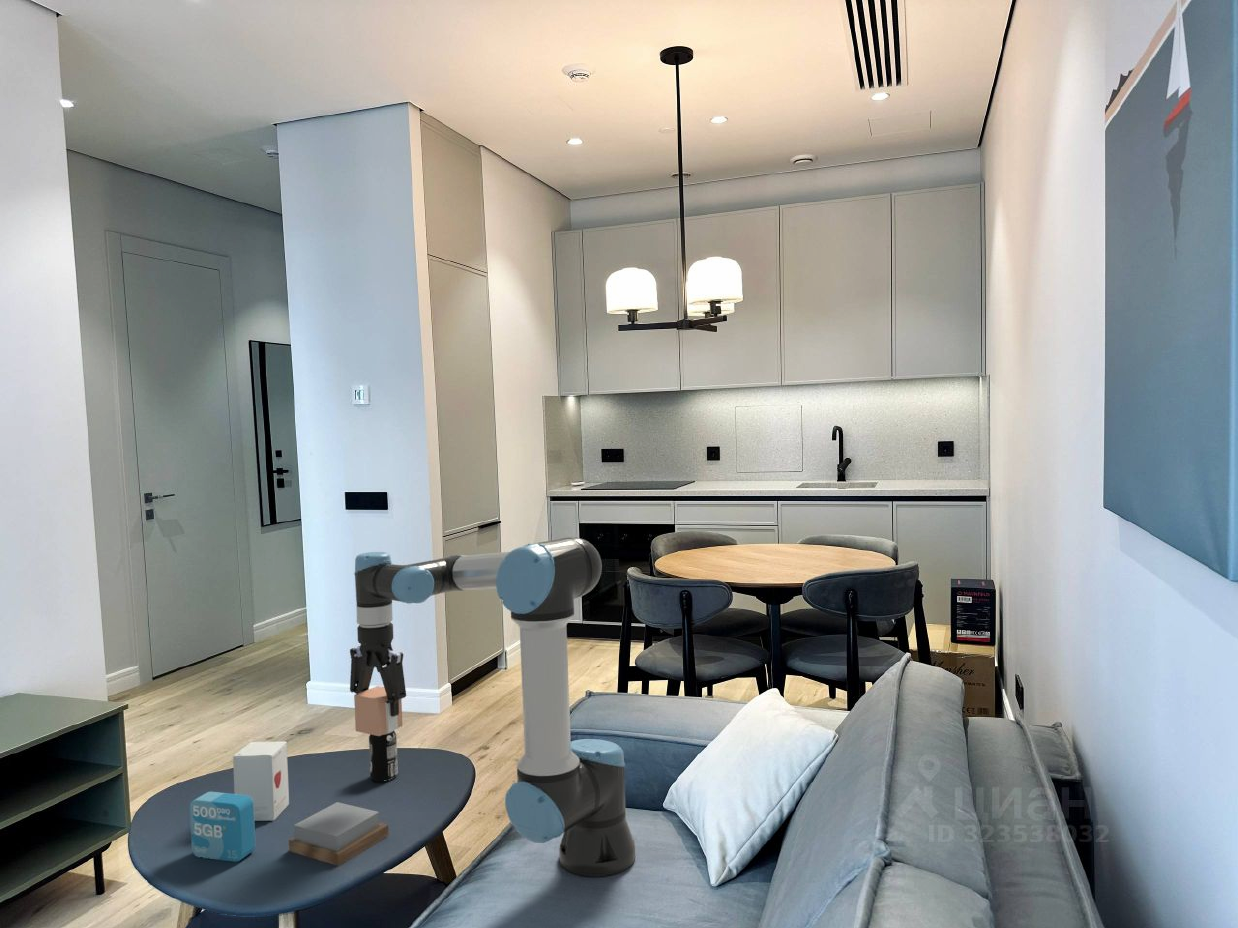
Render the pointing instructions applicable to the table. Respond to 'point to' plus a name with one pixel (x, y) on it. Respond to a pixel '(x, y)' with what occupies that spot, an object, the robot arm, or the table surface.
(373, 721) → the terracotta block
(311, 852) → the base block
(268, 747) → the supplement box
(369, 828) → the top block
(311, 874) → the table surface
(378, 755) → the beverage can
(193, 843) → the data package
